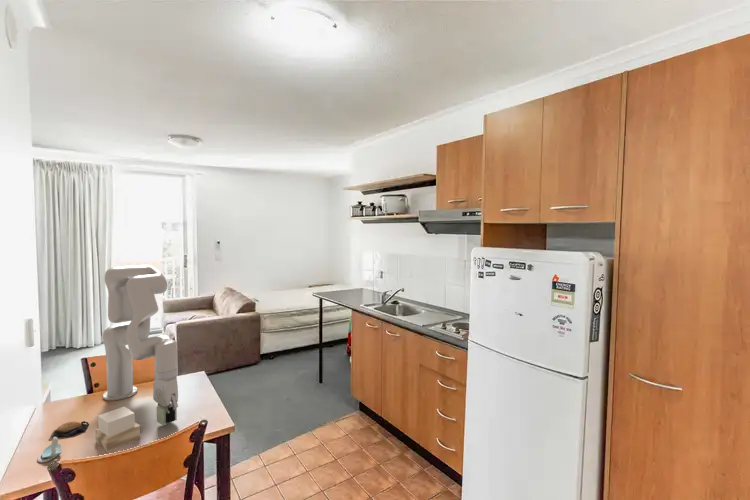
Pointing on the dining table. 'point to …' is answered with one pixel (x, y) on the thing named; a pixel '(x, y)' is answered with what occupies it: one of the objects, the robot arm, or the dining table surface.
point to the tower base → (117, 438)
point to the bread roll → (69, 430)
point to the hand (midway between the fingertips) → (166, 418)
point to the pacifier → (50, 451)
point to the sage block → (163, 414)
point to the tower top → (116, 421)
